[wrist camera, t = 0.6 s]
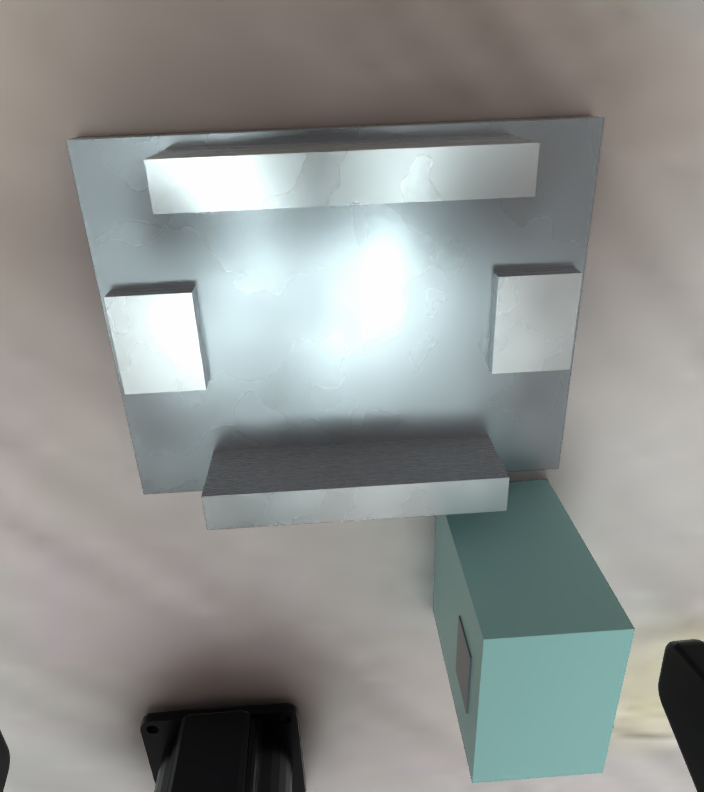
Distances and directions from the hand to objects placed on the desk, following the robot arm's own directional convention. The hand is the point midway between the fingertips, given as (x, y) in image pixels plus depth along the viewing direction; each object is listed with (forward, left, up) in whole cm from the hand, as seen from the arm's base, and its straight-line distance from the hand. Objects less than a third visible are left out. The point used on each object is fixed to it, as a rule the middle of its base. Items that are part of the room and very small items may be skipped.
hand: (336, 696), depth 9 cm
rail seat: (+1, -1, -13) cm, 13 cm away
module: (-9, -6, -13) cm, 17 cm away
